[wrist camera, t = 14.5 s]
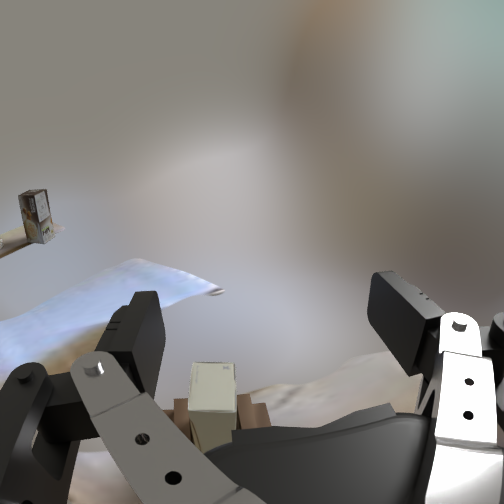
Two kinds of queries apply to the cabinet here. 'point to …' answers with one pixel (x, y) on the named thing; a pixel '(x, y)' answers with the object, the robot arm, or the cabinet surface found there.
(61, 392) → the robot arm
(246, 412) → the rack
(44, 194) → the coffee box
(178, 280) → the cabinet surface
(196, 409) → the skincare box
